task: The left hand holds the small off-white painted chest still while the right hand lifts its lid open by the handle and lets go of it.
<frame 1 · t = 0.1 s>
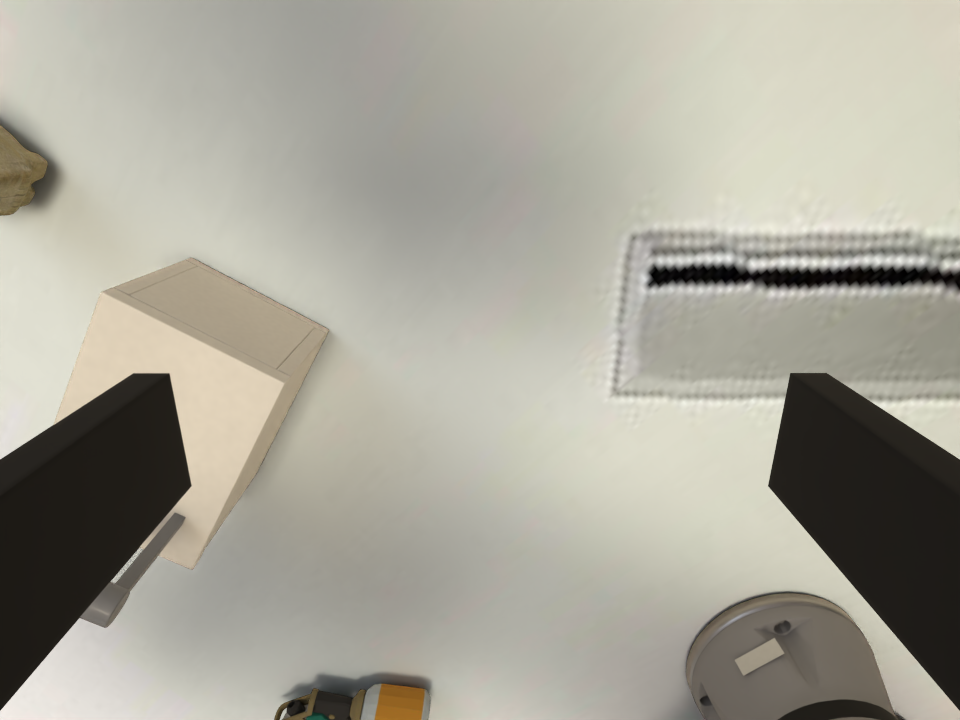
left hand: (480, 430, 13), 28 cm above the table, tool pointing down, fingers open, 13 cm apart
chest: (225, 373, 42), on the table
lid: (115, 475, 30), point 13 cm above the table, hinge at 0.0°
sculpture: (4, 157, 37), on the table
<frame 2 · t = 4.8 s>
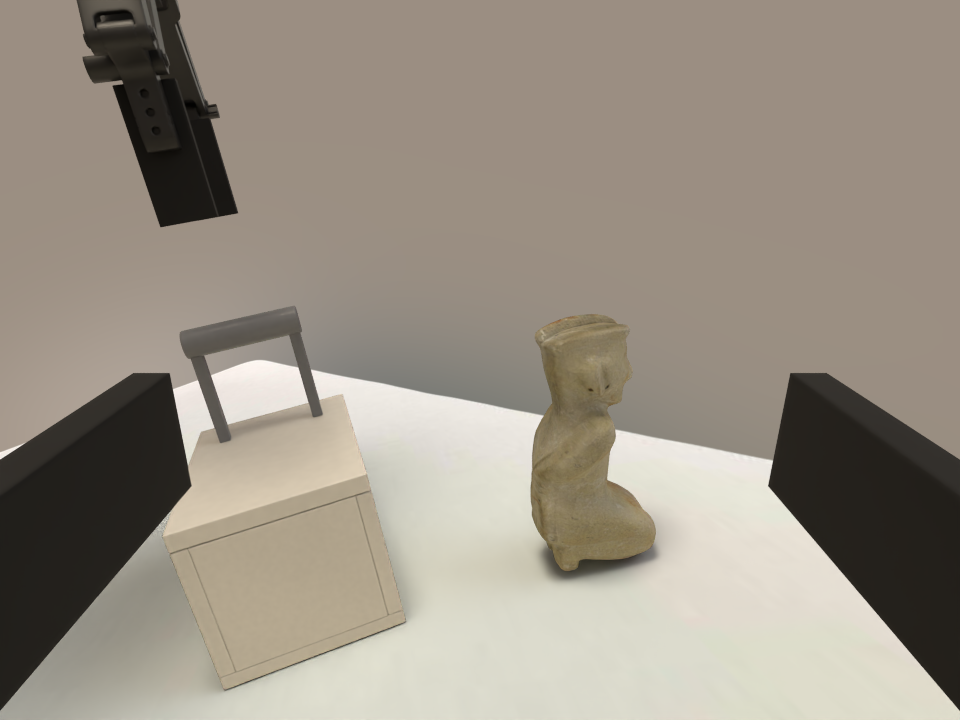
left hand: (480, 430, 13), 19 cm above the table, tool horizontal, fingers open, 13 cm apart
chest: (313, 583, 39), on the table
lid: (255, 399, 35), point 13 cm above the table, hinge at 0.0°
sculpture: (596, 552, 37), on the table
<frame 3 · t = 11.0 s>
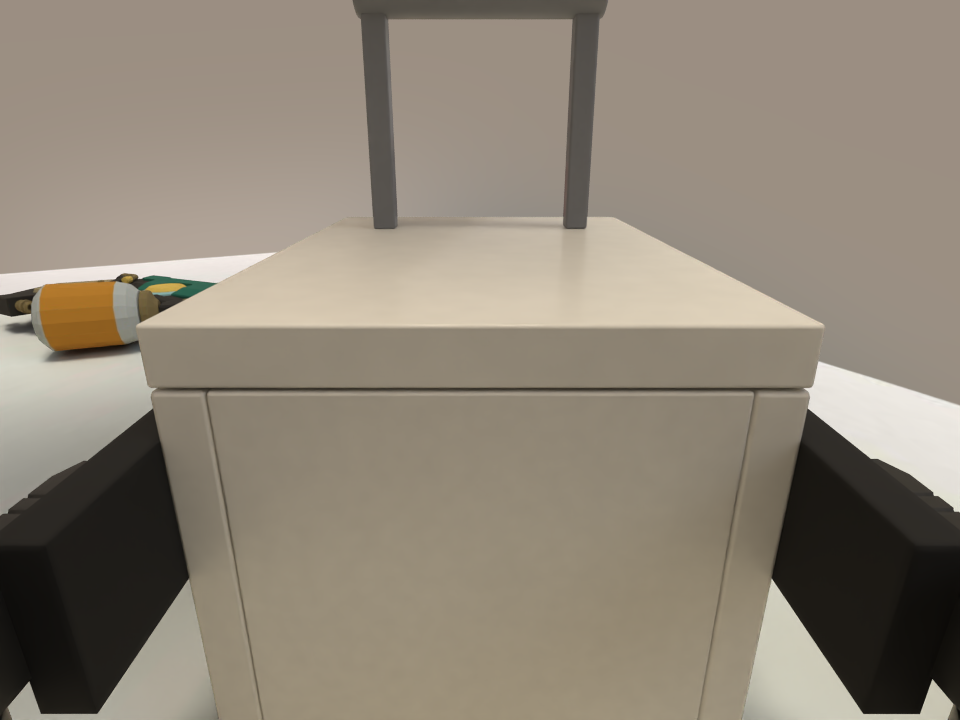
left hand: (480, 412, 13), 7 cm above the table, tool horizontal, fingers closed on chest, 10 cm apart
chest: (480, 566, 18), on the table, touching left hand
lid: (480, 106, 14), point 13 cm above the table, hinge at 0.0°
spray gun: (134, 324, 44), on the table
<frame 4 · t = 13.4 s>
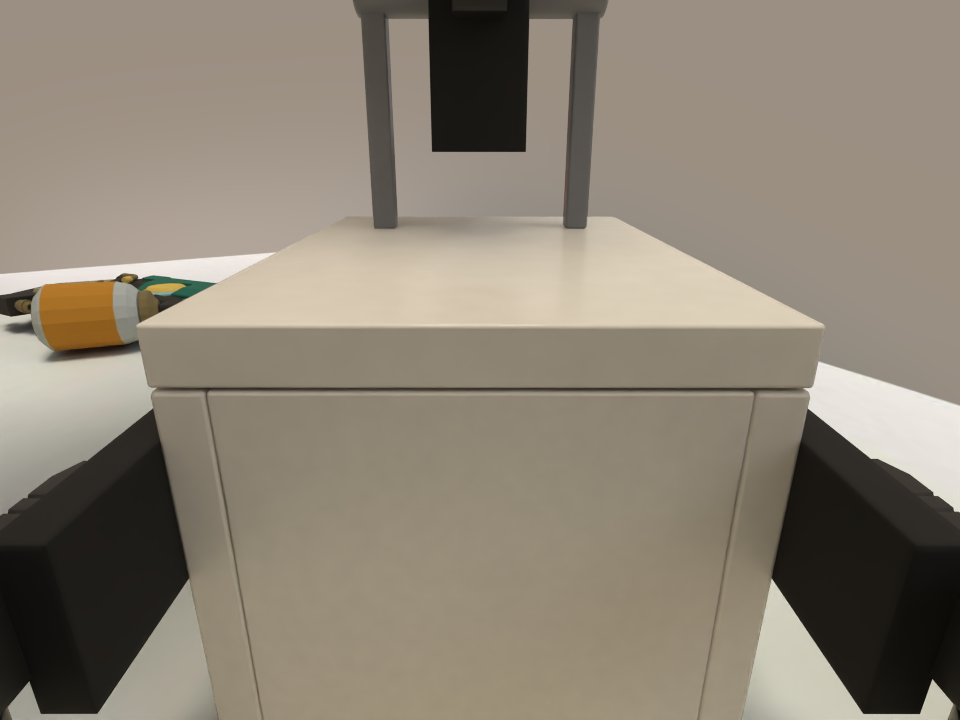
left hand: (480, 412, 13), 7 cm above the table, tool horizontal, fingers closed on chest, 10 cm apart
chest: (480, 566, 18), on the table, touching left hand
lid: (480, 106, 14), point 13 cm above the table, hinge at 0.1°, touching right hand
spray gun: (134, 324, 44), on the table
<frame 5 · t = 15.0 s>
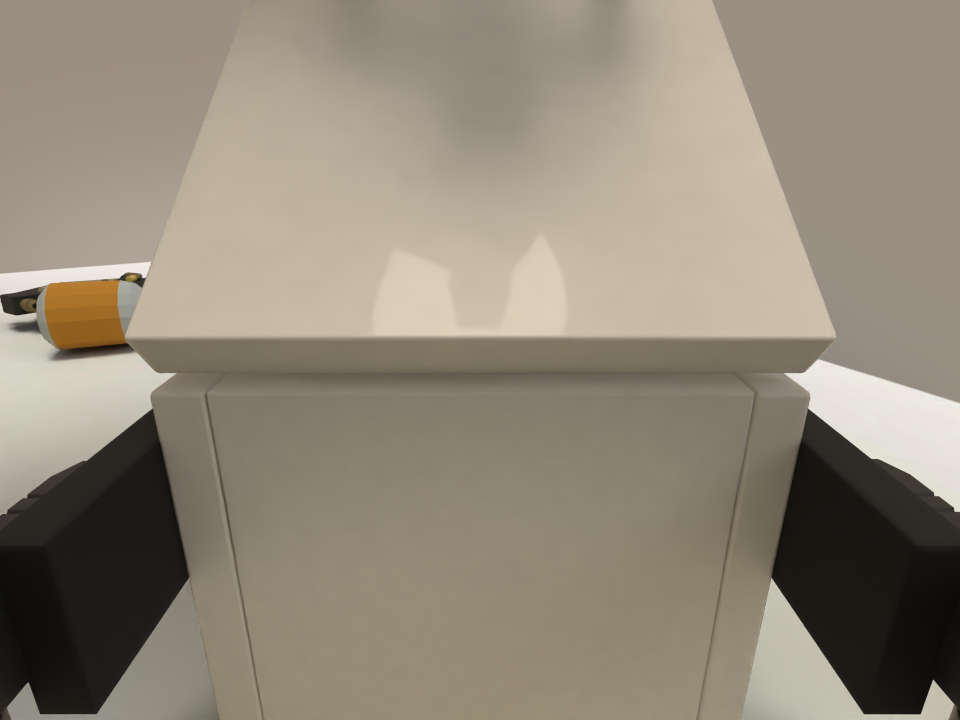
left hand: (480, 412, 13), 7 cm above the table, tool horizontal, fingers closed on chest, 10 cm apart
chest: (479, 565, 18), on the table, touching left hand
spray gun: (138, 323, 44), on the table
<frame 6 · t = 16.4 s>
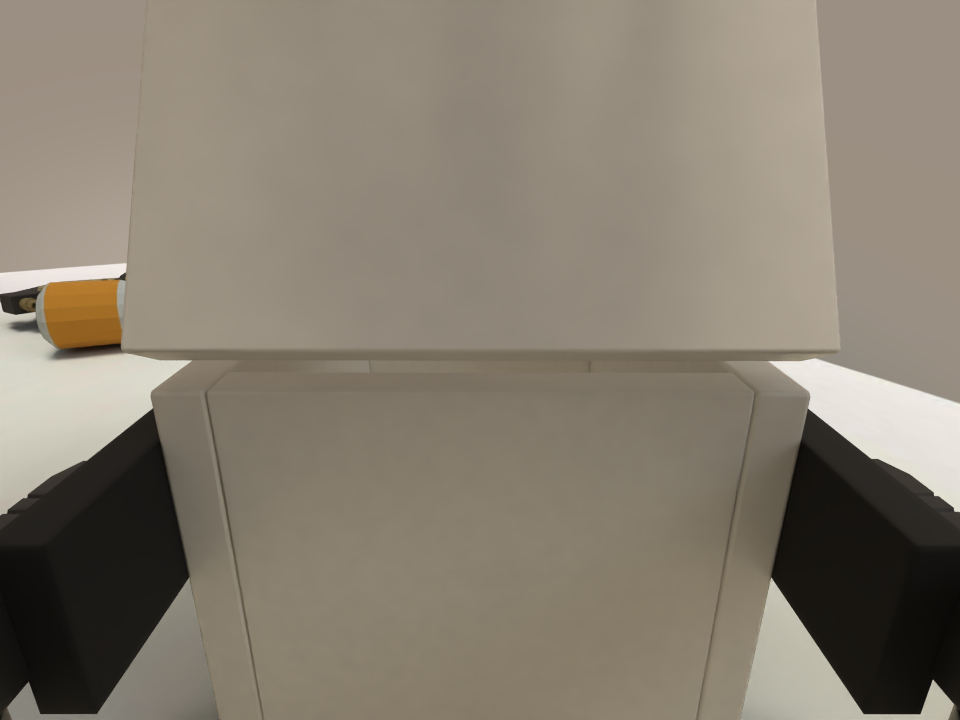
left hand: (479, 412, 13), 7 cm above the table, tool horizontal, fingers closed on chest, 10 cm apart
chest: (479, 564, 18), on the table, touching left hand
spray gun: (138, 322, 44), on the table
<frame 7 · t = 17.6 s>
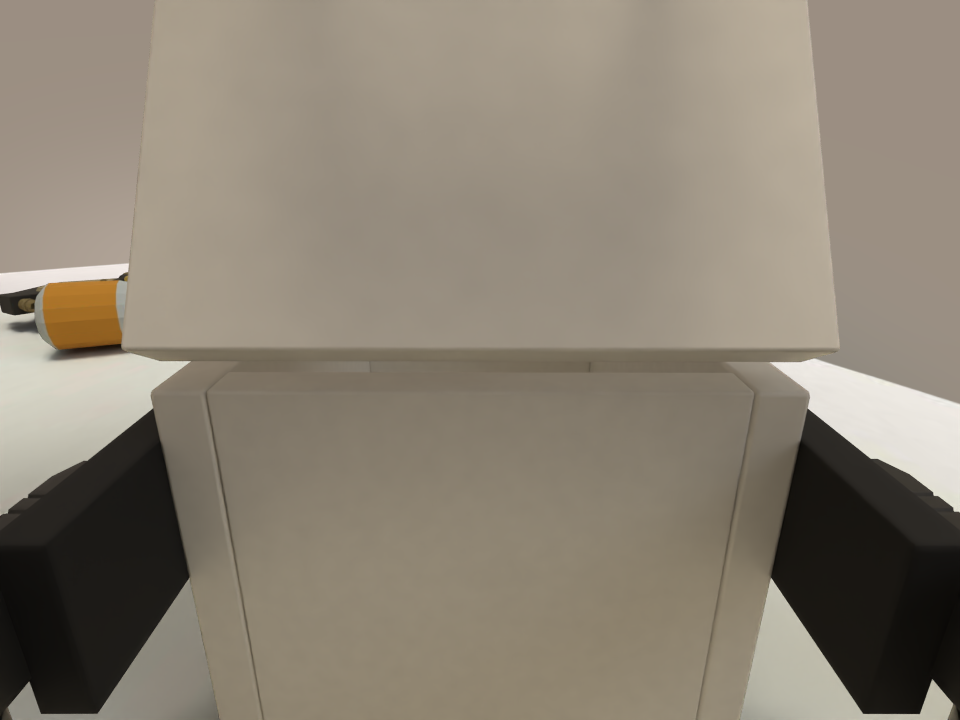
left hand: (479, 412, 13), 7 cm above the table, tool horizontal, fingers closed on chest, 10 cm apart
chest: (479, 564, 18), on the table, touching left hand
spray gun: (137, 323, 44), on the table
when the left hand's fingers open (7 cm above the table, at t = 19.9 s): chest stays where it is, on the table.
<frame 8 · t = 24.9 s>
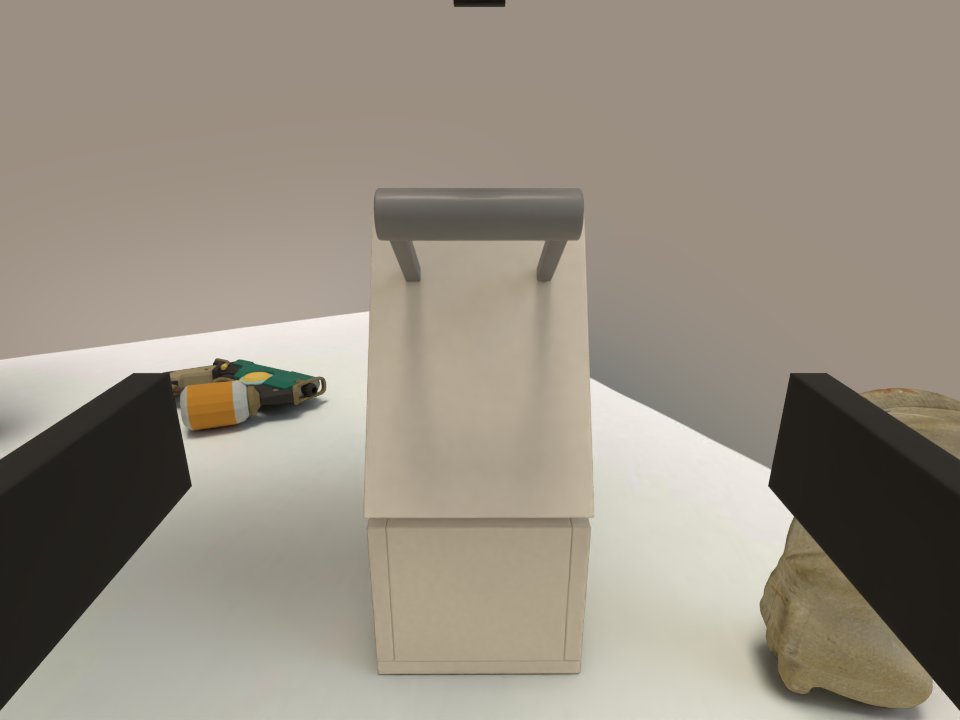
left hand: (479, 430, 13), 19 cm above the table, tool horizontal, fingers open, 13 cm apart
chest: (478, 581, 36), on the table
lid: (478, 343, 24), point 18 cm above the table, hinge at 60.6°
spray gun: (233, 402, 61), on the table
sculpture: (830, 677, 29), on the table
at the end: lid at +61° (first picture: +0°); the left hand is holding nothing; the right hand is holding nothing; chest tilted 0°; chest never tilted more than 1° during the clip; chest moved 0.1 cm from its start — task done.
